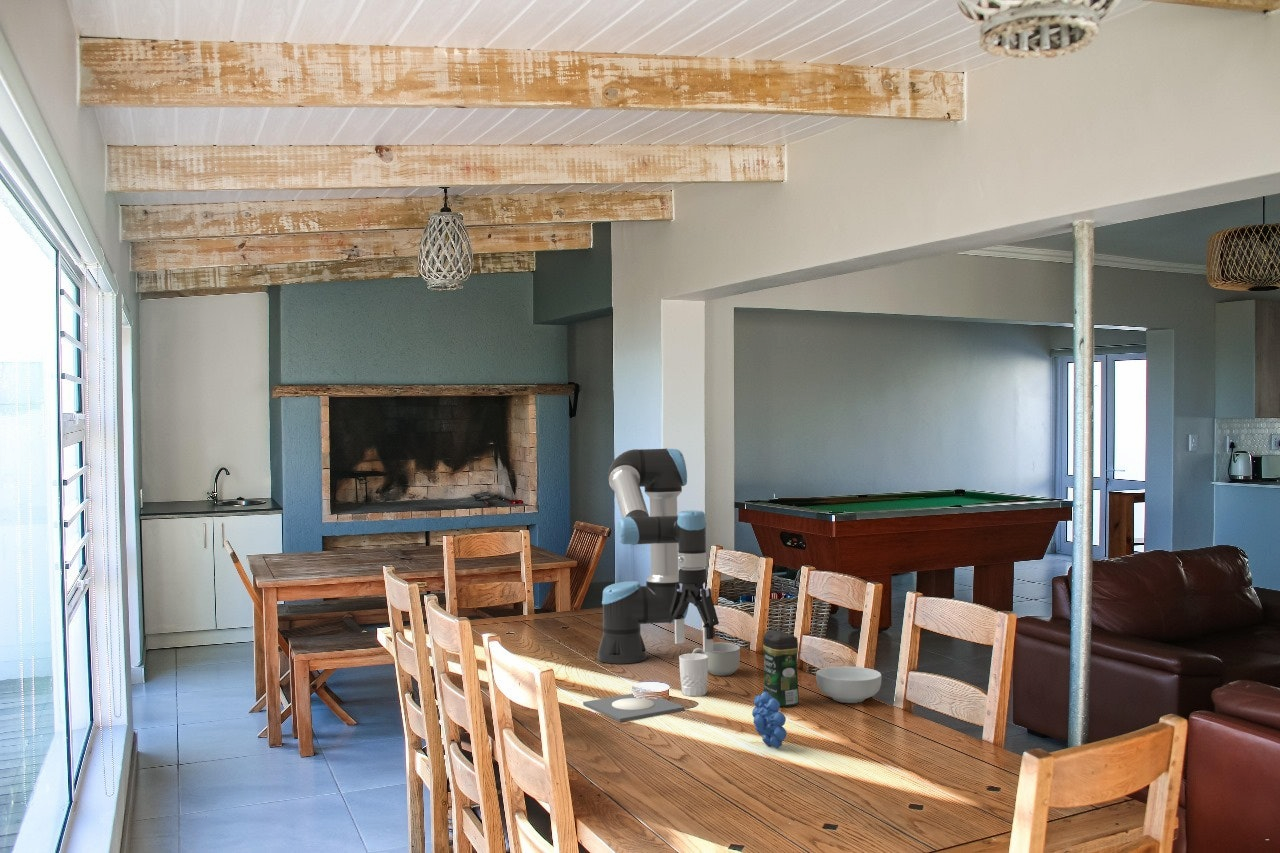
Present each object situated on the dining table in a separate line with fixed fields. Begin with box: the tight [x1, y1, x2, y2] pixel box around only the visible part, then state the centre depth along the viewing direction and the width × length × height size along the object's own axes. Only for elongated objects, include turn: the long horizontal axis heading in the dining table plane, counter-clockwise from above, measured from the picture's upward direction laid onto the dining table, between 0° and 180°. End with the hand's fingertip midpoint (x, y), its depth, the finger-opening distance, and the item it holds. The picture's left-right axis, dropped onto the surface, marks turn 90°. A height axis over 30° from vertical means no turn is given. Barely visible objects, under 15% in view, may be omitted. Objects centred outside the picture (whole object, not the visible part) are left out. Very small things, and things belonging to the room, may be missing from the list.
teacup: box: [692, 641, 741, 677], centre depth 314 cm, size 14×11×8 cm
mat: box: [582, 693, 685, 723], centre depth 278 cm, size 19×19×1 cm
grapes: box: [751, 691, 787, 749], centre depth 244 cm, size 12×7×12 cm, turn 28°
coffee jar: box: [762, 629, 800, 708], centre depth 280 cm, size 10×8×19 cm
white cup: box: [678, 652, 709, 697], centre depth 292 cm, size 8×8×10 cm
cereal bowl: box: [815, 666, 882, 704], centre depth 283 cm, size 17×17×7 cm
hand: (693, 647), depth 291 cm, fingers open, 13 cm apart
